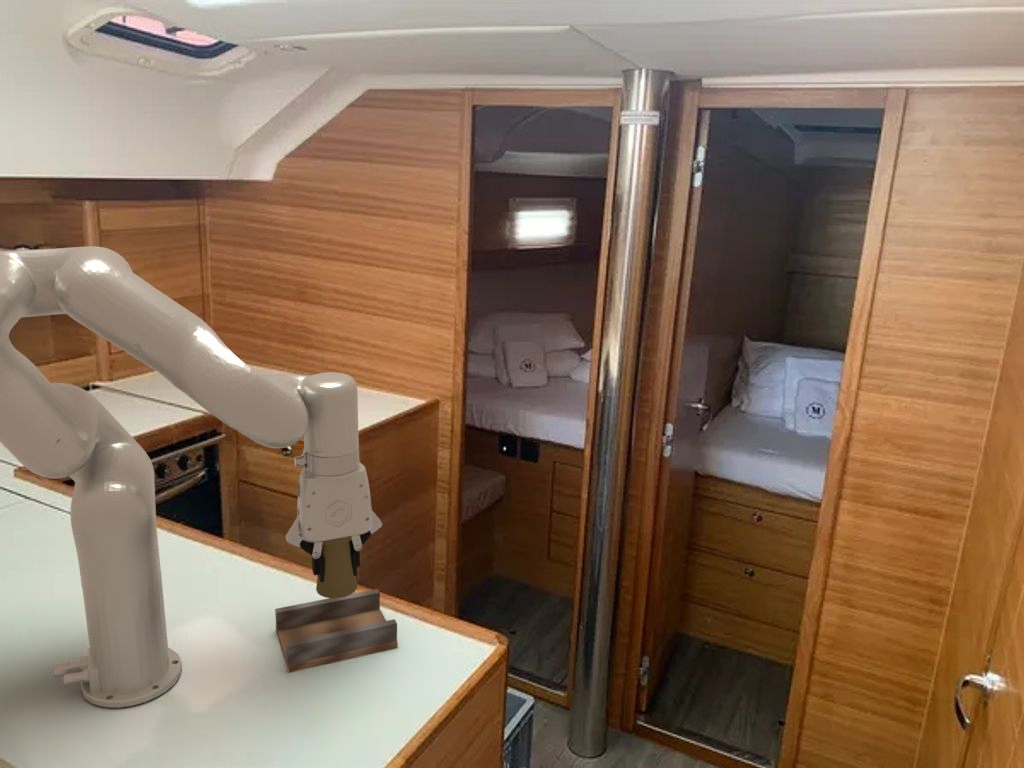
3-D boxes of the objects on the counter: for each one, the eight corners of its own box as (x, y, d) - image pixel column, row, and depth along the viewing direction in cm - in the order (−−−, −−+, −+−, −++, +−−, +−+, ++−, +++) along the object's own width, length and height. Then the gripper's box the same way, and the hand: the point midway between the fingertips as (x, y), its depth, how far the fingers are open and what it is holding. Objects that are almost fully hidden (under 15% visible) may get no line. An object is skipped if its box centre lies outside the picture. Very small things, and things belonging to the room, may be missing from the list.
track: (289, 672, 113) (287, 648, 112) (275, 630, 123) (274, 607, 122) (397, 647, 120) (397, 624, 119) (377, 609, 130) (377, 587, 128)
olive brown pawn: (340, 572, 123) (337, 507, 120) (365, 586, 120) (364, 519, 116) (307, 588, 119) (304, 520, 116) (333, 603, 115) (331, 534, 112)
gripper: (276, 478, 107) (283, 599, 112) (397, 461, 113) (398, 575, 119) (267, 458, 113) (274, 573, 118) (382, 443, 120) (384, 552, 125)
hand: (336, 573), depth 118 cm, fingers closed on olive brown pawn, 4 cm apart
